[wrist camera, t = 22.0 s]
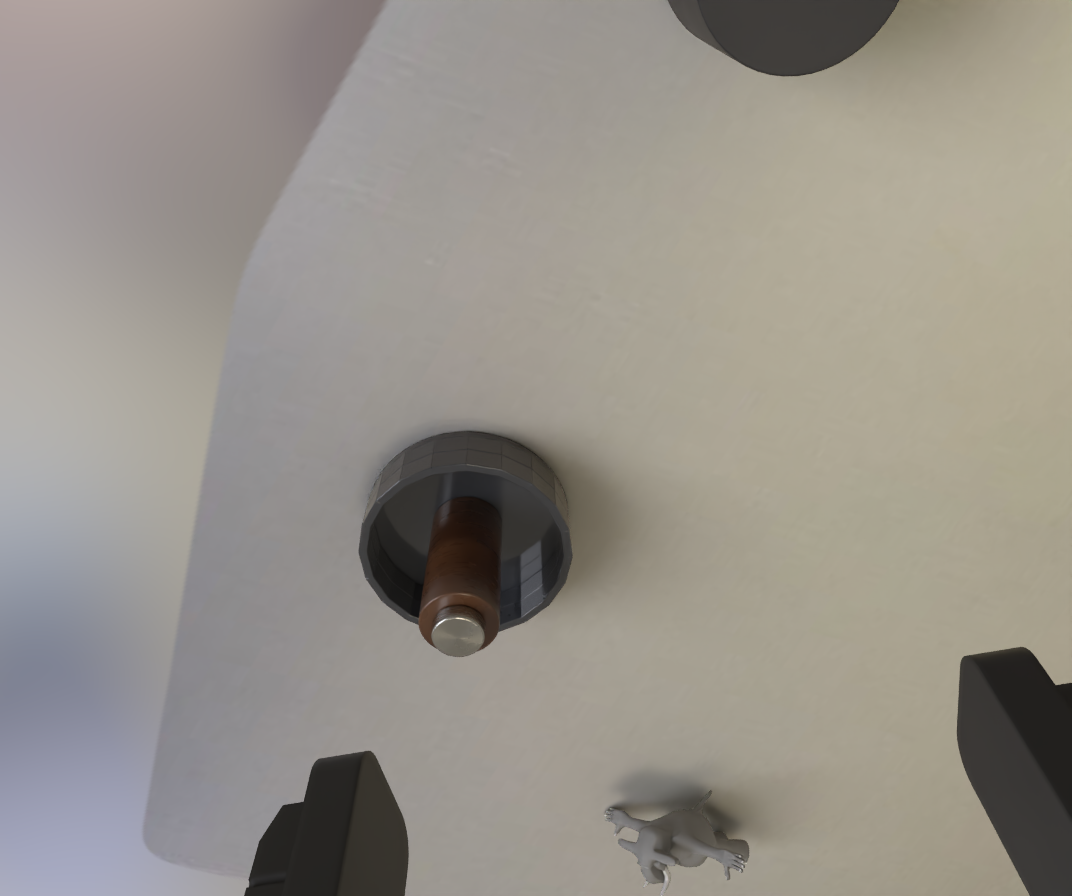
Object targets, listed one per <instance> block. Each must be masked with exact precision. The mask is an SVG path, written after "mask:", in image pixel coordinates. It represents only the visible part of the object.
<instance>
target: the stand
mask: <svg viewBox="0 0 1072 896" xmlns="http://www.w3.org/2000/svg"><path fill="white" fill-rule="evenodd" d="M668 1H669V4H670V6H671V8H672V10H673V11H674V13H675V15H676V16H677V18H678V19H679V20H680V22H681V23H682V24H683V25H684V26H685V27H686V29H688V30H689V31H690V32H691V33H692V34H693V35H695V36H696V37H698V38H699V39H701V40H702V41H704V42H706V43H707V44H709V45H711V46H712V47H714V48H716V49H717V50H719V51H721V52H723V53H724V54H726V55H728V56H729V57H731V58H733V59H734V60H736V61H738V62H739V63H741V64H743V65H745V66H746V67H749V68H751V69H753V70H756V71H758V72H762V73H766V74H769V75H776V76H800V75H806V74H812V73H815V72H818V71H822V70H825V69H827V68H829V67H832V66H834V65H836V64H838V63H840V62H842V61H843V60H845V59H847V58H848V57H850V56H851V55H853V54H854V53H855V52H857V51H858V50H859V49H861V48H862V47H863V46H864V45H865V44H866V43H867V42H868V41H869V40H870V39H871V38H873V37H874V36H875V35H876V33H877V32H878V31H879V30H880V29H881V27H882V26H883V25H884V24H885V22H886V21H887V19H888V18H889V16H890V15H891V14H892V12H893V11H894V9H895V7H896V5H897V3H898V1H899V0H668Z"/></svg>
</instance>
